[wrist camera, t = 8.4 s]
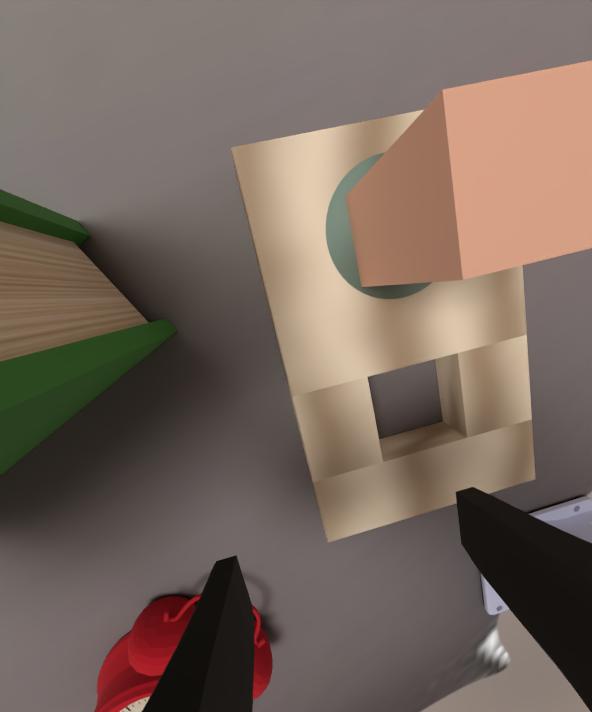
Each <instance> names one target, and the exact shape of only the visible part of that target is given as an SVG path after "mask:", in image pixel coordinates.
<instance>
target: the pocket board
mask: <svg viewBox="0 0 592 712" xmlns="http://www.w3.org/2000/svg"><path fill="white" fill-rule="evenodd" d="M423 111H424V110H421V111H415V112H410V113H405V114H400V115H395V116H390V117H385V118H380V119H375V120H370V121H365V122H359V123H354V124H349V125H344V126H339V127H334V128H329V129H324V130H319V131H314V132H308V133H303V134H298V135H293V136H288V137H283V138H278V139H273V140H268V141H263V142H257V143H252V144H247V145H242V146H237V147H232V148H231V150H232V156H233V162H234V168H235V172H236V176H237V180H238V184H239V188H240V193H241V197H242V201H243V205H244V209H245V213H246V217H247V221H248V225H249V229H250V233H251V237H252V241H253V245H254V249H255V253H256V257H257V261H258V265H259V270H260V274H261V278H262V282H263V286H264V290H265V294H266V298H267V302H268V306H269V310H270V314H271V318H272V322H273V326H274V330H275V334H276V338H277V343H278V347H279V351H280V355H281V359H282V363H283V367H284V371H285V375H286V379H287V383H288V387H289V391H290V395H291V399H292V403H293V407H294V411H295V415H296V420H297V424H298V428H299V432H300V436H301V440H302V444H303V448H304V452H305V456H306V460H307V464H308V468H309V472H310V476H311V480H312V484H313V488H314V492H315V497H316V501H317V505H318V509H319V513H320V516H321V520H322V523H323V527H324V530H325V534H326V537H327V540H328V542H332V541H335V540H338V539H341V538H345V537H348V536H351V535H355V534H358V533H361V532H364V531H368V530H371V529H374V528H378V527H381V526H384V525H387V524H391V523H394V522H397V521H400V520H404V519H407V518H410V517H414V516H417V515H420V514H423V513H427V512H430V511H433V510H437V509H440V508H443V507H446V506H450V505H453V504H456V503H457V500H456V492H457V491H460V490H464V489H467V488H470V487H475V488H477V489H479V490H481V491H483V492H485V493H487V494H489V493H492V492H496V491H499V490H502V489H505V488H509V487H512V486H515V485H519V484H522V483H525V482H528V481H532V480H535V464H534V448H533V432H532V415H531V399H530V382H529V366H528V349H527V333H526V317H525V300H524V284H523V267H522V265H521V266H517V267H513V268H509V269H505V270H501V271H497V272H493V273H489V274H485V275H481V276H477V277H473V278H469V279H465V280H455V281H441V282H427V283H413V284H399V285H384V286H370V287H361V282H360V276H359V270H358V265H357V259H356V254H355V248H354V243H353V237H352V232H351V226H350V221H349V215H348V210H347V204H346V199H345V196H346V195H347V194H348V193H349V192H350V191H351V190H352V189H353V188H354V186H355V185H356V184H357V183H358V182H359V181H360V180H361V179H362V178H363V177H364V175H365V174H366V173H367V172H368V171H369V170H370V169H371V168H372V167H373V166H374V165H375V163H376V162H377V161H378V160H379V159H380V158H381V157H382V156H383V155H384V154H385V152H386V151H387V150H388V149H389V148H390V147H391V146H392V145H393V144H394V143H395V141H396V140H397V139H398V138H399V137H400V136H401V135H402V134H403V133H404V132H405V131H406V129H407V128H408V127H409V126H410V125H411V124H412V123H413V122H414V121H415V120H416V118H417V117H418V116H419V115H420V114H421V113H422V112H423ZM433 359H435V365H436V373H437V380H438V388H439V395H440V403H441V411H442V418H443V421H442V422H438V423H435V424H431V425H428V426H424V427H421V428H417V429H414V430H410V431H406V432H403V433H399V434H396V435H392V436H389V437H385V438H382V439H379V437H378V431H377V426H376V421H375V415H374V410H373V404H372V399H371V393H370V388H369V383H368V377H369V376H372V375H376V374H380V373H384V372H387V371H391V370H395V369H399V368H403V367H406V366H410V365H414V364H418V363H422V362H425V361H429V360H433Z"/></svg>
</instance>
